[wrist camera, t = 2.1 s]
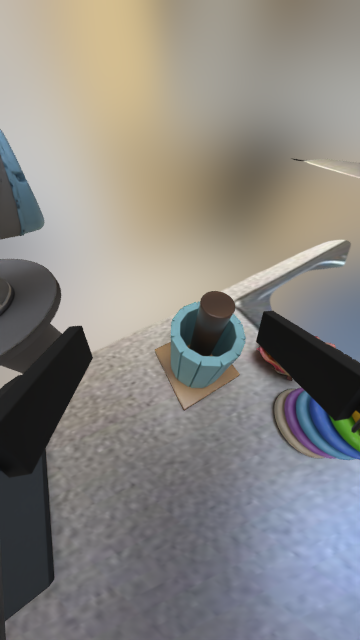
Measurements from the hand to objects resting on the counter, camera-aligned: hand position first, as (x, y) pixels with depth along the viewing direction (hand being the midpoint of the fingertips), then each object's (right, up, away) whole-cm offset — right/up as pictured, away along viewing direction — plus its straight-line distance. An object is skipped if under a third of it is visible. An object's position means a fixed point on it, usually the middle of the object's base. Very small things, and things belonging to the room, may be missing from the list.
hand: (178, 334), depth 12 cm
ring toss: (+3, -6, +15) cm, 16 cm away
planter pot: (+3, -6, +14) cm, 15 cm away
